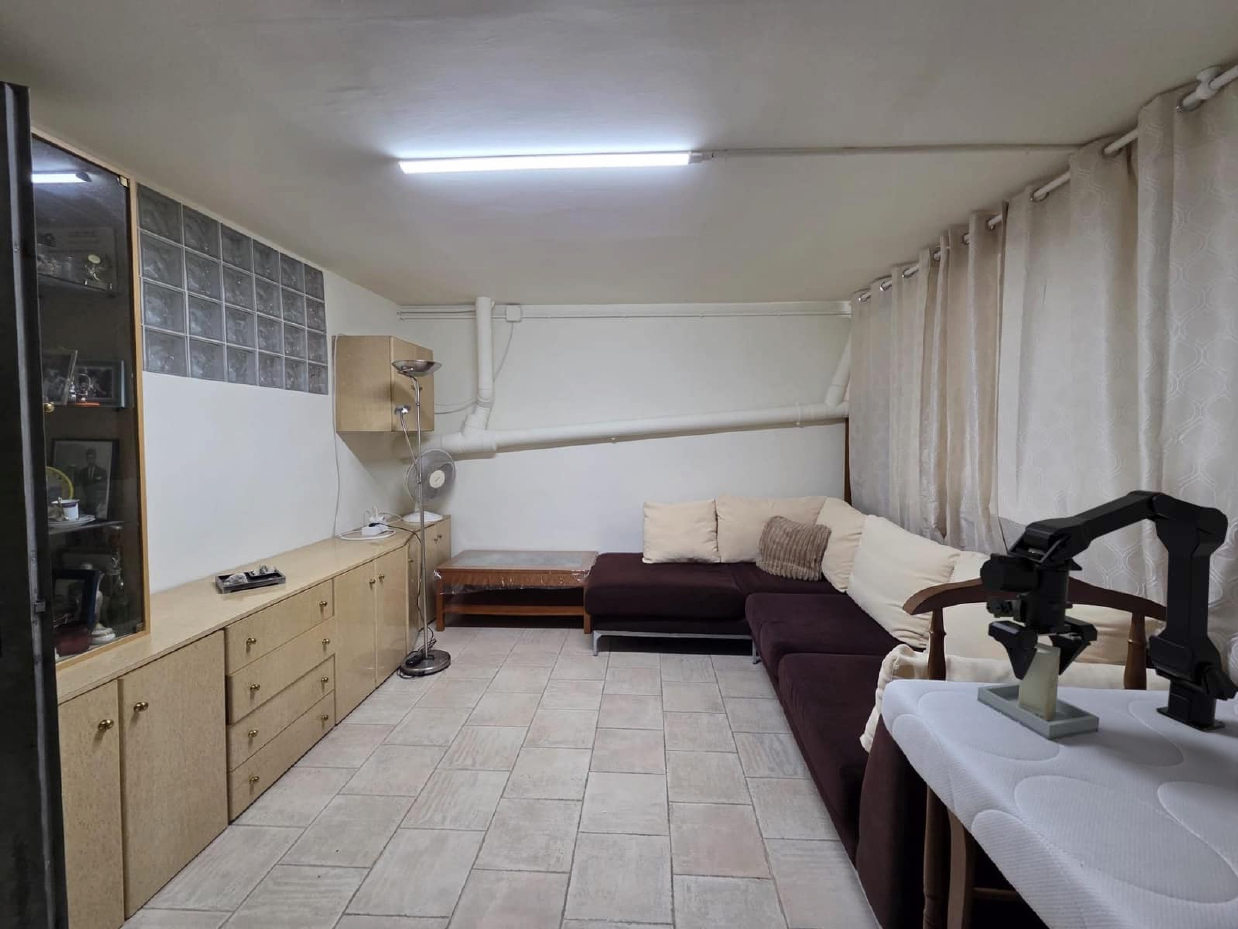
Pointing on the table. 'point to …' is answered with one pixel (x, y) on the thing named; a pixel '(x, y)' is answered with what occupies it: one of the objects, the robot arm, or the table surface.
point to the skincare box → (1041, 683)
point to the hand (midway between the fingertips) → (1038, 676)
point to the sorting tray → (1059, 725)
